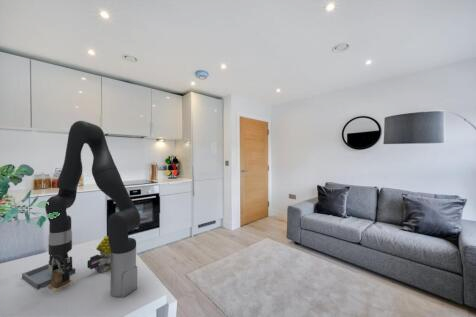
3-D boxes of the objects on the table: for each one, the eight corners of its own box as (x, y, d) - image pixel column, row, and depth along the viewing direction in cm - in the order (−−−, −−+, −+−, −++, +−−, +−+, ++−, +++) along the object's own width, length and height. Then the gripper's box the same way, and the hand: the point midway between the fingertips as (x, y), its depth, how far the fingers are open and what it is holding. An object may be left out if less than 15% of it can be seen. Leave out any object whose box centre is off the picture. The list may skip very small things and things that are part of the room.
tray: (75, 274, 93) (75, 268, 93) (37, 290, 81) (37, 284, 81) (58, 265, 100) (58, 260, 100) (22, 279, 89) (22, 273, 89)
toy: (82, 274, 93) (82, 242, 93) (110, 261, 105) (111, 233, 104) (93, 280, 89) (93, 247, 88) (122, 266, 100) (122, 236, 100)
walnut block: (69, 282, 86) (69, 268, 86) (56, 288, 82) (56, 274, 82) (64, 279, 88) (64, 266, 88) (51, 285, 84) (51, 271, 84)
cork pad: (74, 283, 87) (74, 281, 87) (53, 293, 80) (53, 291, 80) (66, 278, 90) (66, 277, 90) (46, 287, 83) (46, 286, 83)
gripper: (79, 240, 85) (79, 278, 85) (63, 234, 91) (63, 269, 92) (57, 248, 78) (57, 288, 78) (41, 240, 85) (41, 278, 85)
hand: (60, 278), depth 85 cm, fingers open, 8 cm apart
